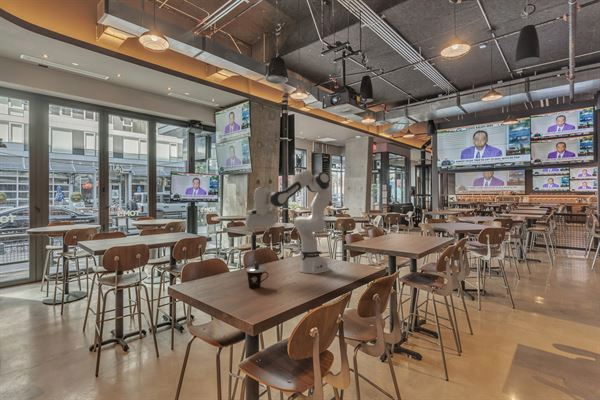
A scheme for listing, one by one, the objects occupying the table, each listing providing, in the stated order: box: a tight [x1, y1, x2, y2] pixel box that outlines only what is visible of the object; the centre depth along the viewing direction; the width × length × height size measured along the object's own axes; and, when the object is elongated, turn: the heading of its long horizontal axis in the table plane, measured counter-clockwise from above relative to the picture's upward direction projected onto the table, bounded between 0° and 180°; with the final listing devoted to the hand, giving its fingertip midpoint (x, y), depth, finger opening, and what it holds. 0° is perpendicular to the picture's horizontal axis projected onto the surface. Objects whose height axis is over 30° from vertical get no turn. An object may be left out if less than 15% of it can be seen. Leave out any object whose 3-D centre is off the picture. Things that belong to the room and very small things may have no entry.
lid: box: [246, 261, 268, 273], centre depth 174 cm, size 12×12×5 cm
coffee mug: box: [246, 271, 269, 290], centre depth 174 cm, size 12×9×10 cm
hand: (260, 232), depth 199 cm, fingers open, 8 cm apart
